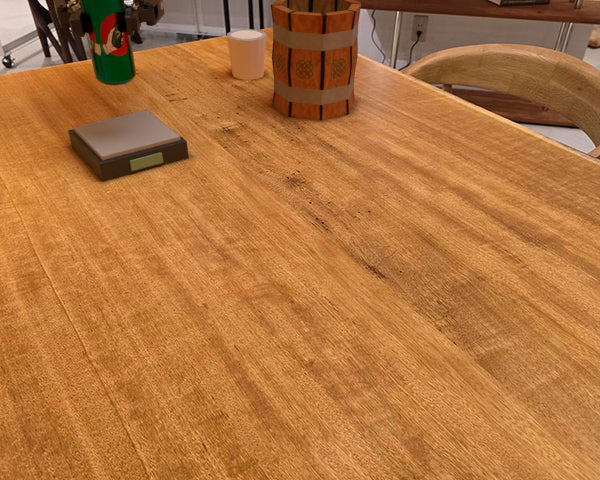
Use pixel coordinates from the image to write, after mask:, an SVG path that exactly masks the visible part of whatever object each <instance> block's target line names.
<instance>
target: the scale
mask: <svg viewBox="0 0 600 480" xmlns="http://www.w3.org/2000/svg"><path fill="white" fill-rule="evenodd" d="M67 133H68V136H69V141H70V145H71V148H72V149H73V150H74V151H75V152H76V154H77V155H78V156H79V157H80V158H81V159H82V160H83V161H84V162H85V163H86V164H87V165H88V167H89V168H90V169H91V170H92V171H93V172H94V173H95V174H96V176H98V177H99V179H100V180H101V181H102V182H107V181H110V180H115V179H118V178H121V177H126V176H128V175H129V176H130V175H132V174H136V173H140V172H144V171H147V170H151V169H153V168H154V169H155V168H158V167H162V166H166V165H169V164H172V163H176V162H179V161H184V160H187V159H189V150H188V149H189V148H188V141H187V140H186V139H185V138H184V137H183V136H181V135H180V134H178V132H176V131H175V130H173V128H171V127H170V126H168V124H166V123H165V122H163V121H162V120H161V119H159V117H157V116H156V115H155V114H153V113H152V112H150V111H149V110H147V109H145V110H140V111H135V112H132V113H128V114H122V115H117V116H114V117H109V118H105V119H100V120H96V121H92V122H87V123H83V124H79V125H74V126H72V129H68V130H67Z"/></svg>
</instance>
